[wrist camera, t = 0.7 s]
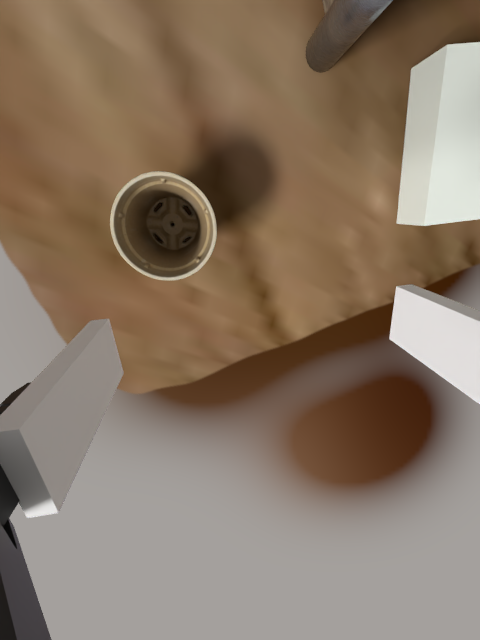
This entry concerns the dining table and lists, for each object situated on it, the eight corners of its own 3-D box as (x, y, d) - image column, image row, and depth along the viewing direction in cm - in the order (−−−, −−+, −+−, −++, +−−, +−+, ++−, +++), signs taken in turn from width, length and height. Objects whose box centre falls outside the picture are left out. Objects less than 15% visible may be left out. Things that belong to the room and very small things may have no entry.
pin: (305, 31, 29) (387, -110, 16) (338, 29, 29) (445, -112, 16) (305, 73, 30) (382, -26, 17) (337, 71, 31) (435, -29, 18)
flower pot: (226, 204, 34) (233, 203, 26) (195, 276, 37) (193, 295, 29) (148, 163, 32) (130, 149, 24) (121, 244, 34) (96, 255, 26)
